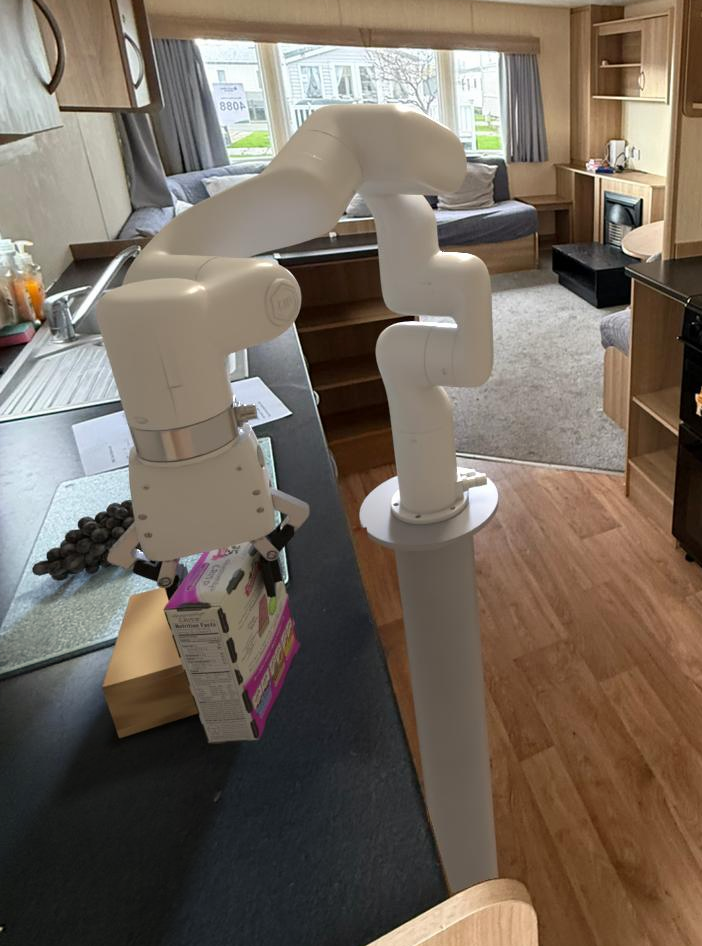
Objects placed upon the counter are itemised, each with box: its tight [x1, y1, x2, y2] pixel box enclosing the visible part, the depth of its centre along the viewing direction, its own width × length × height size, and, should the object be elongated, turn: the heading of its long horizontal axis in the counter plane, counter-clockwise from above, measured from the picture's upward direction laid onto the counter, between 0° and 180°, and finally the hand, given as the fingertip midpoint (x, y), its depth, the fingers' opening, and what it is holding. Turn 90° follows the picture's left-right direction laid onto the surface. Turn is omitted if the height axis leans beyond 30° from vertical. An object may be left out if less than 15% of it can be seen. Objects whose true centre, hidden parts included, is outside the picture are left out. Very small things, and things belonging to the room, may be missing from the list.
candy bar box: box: [163, 542, 301, 744], centre depth 62 cm, size 11×5×16 cm, turn 5°
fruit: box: [31, 499, 143, 582], centre depth 91 cm, size 9×8×15 cm
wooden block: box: [101, 587, 198, 739], centre depth 74 cm, size 13×14×7 cm
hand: (231, 597), depth 60 cm, fingers closed on candy bar box, 6 cm apart
